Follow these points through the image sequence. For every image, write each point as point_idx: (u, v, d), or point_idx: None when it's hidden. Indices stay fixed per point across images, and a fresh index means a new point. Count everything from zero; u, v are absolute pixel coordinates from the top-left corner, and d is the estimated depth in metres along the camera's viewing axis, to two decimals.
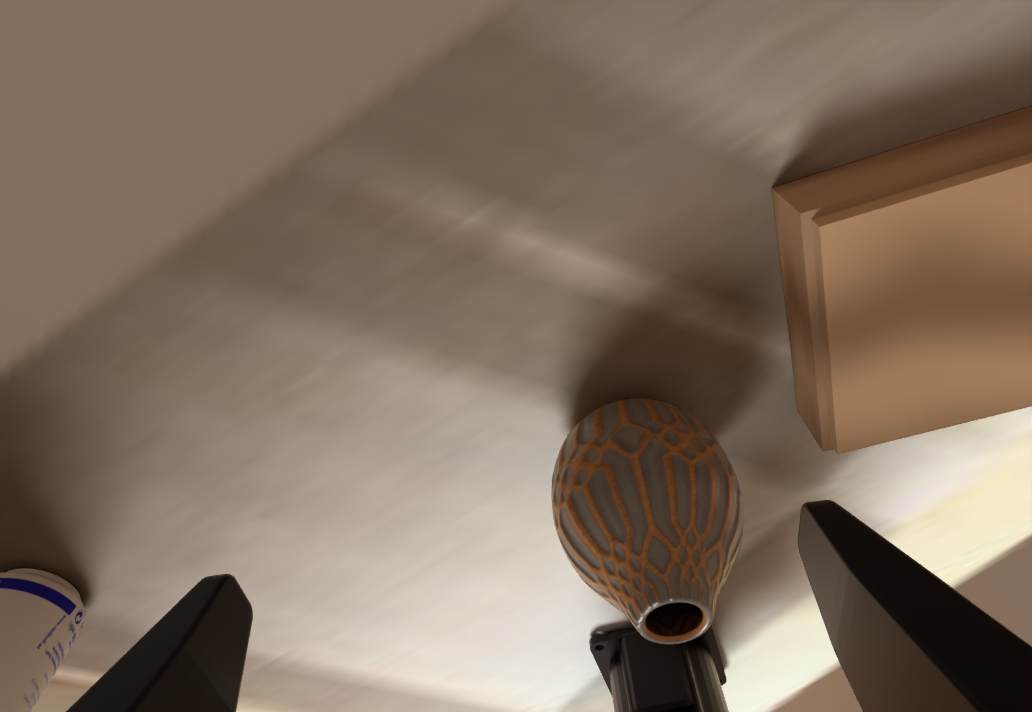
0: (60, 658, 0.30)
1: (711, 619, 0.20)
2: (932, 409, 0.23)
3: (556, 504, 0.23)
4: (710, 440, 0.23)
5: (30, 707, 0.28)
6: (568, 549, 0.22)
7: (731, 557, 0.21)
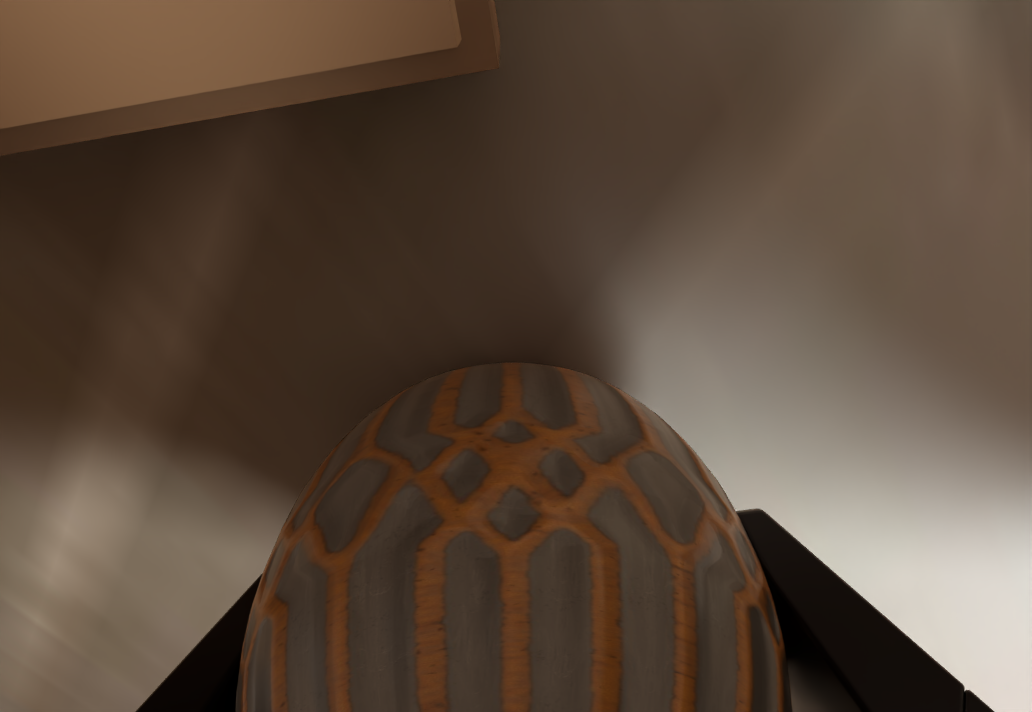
0: None
1: None
2: None
3: None
4: (321, 488, 0.08)
5: None
6: None
7: None
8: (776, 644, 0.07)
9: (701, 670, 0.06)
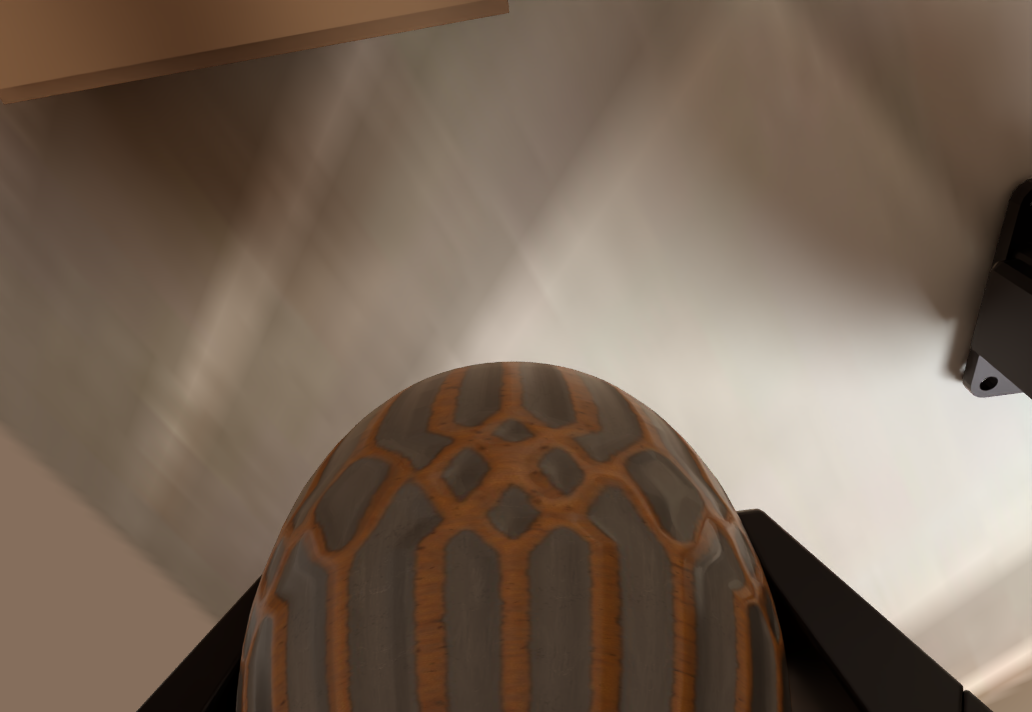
0: None
1: None
2: None
3: None
4: (321, 487, 0.08)
5: None
6: None
7: None
8: (775, 642, 0.07)
9: (701, 666, 0.06)
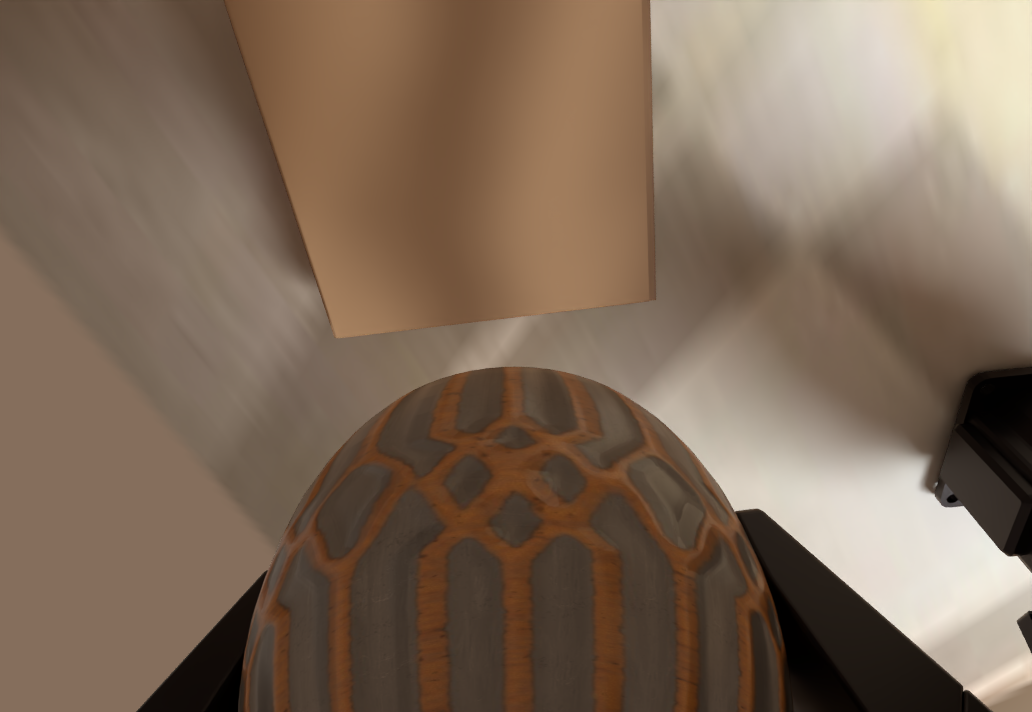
0: None
1: None
2: (607, 194, 0.17)
3: None
4: (323, 494, 0.08)
5: None
6: None
7: None
8: (778, 649, 0.07)
9: (703, 676, 0.06)
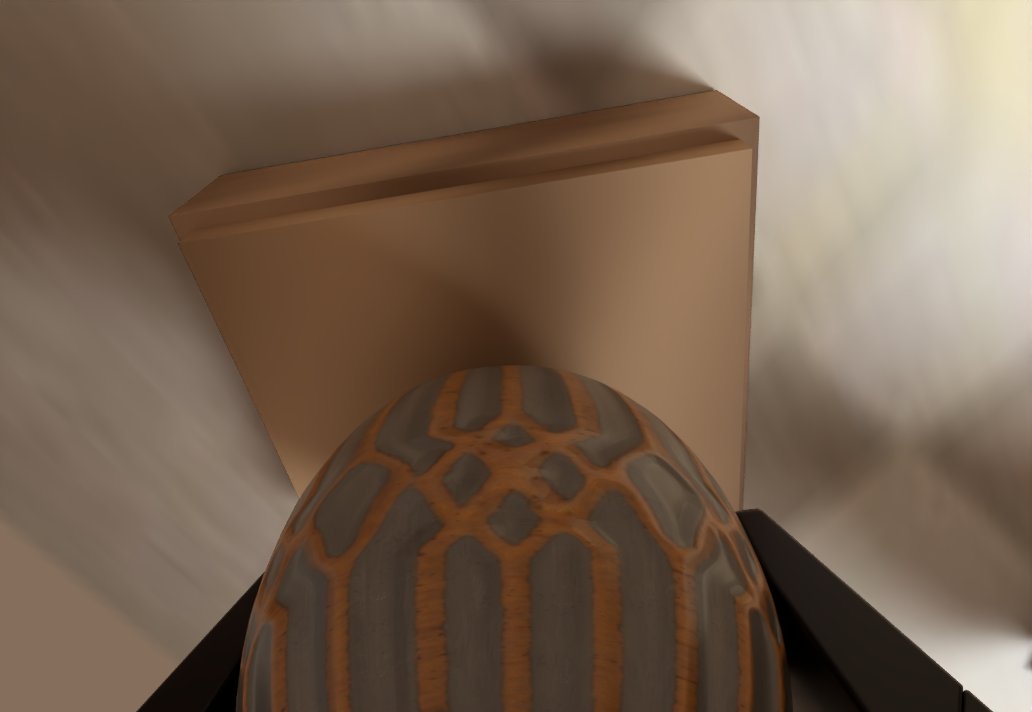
0: None
1: None
2: None
3: None
4: (321, 492, 0.08)
5: None
6: None
7: None
8: (777, 647, 0.07)
9: (703, 674, 0.06)
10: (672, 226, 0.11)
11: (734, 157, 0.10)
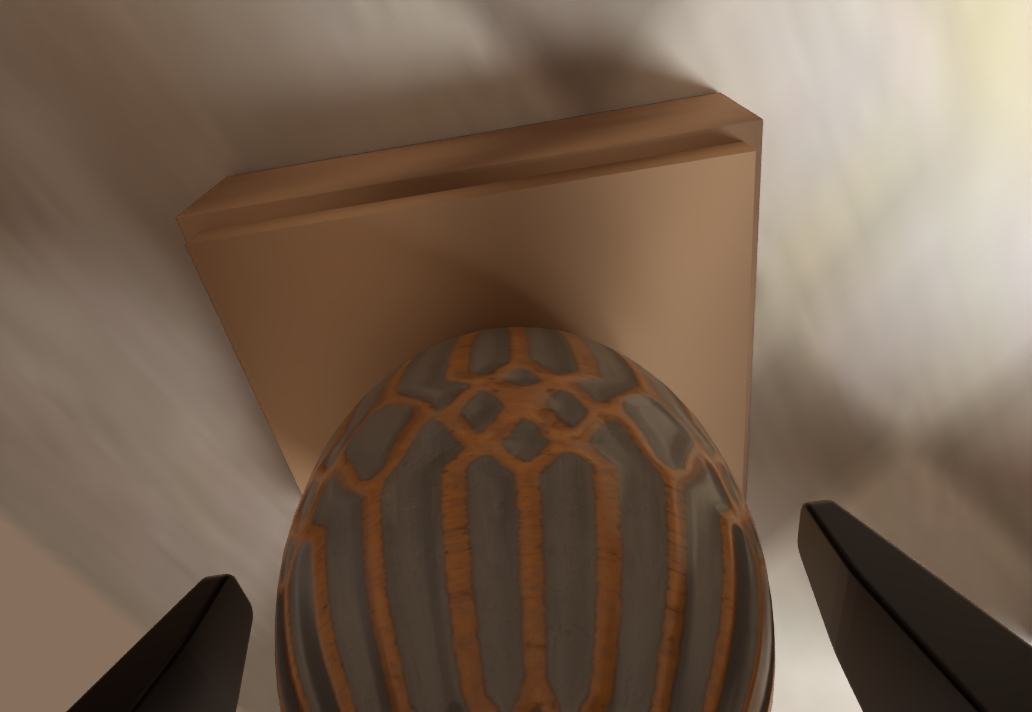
0: None
1: None
2: None
3: None
4: (349, 433, 0.08)
5: None
6: None
7: (512, 689, 0.06)
8: (758, 561, 0.08)
9: (691, 569, 0.07)
10: (676, 228, 0.11)
11: (738, 159, 0.10)
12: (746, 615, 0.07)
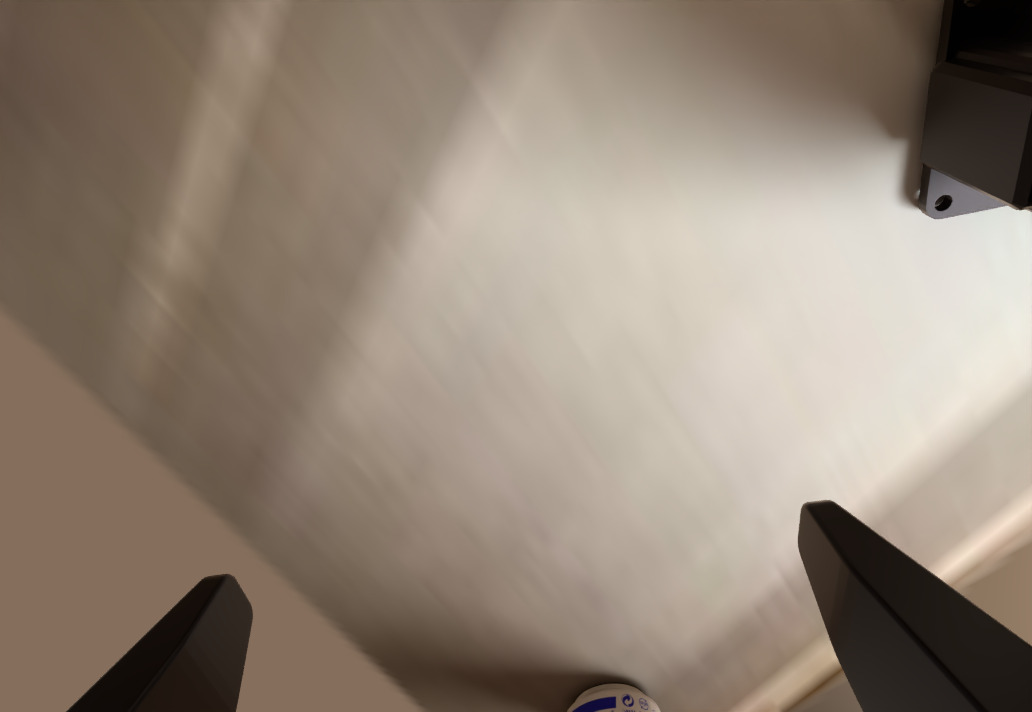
0: None
1: None
2: None
3: None
4: None
5: None
6: None
7: None
8: None
9: None
10: None
11: None
12: None
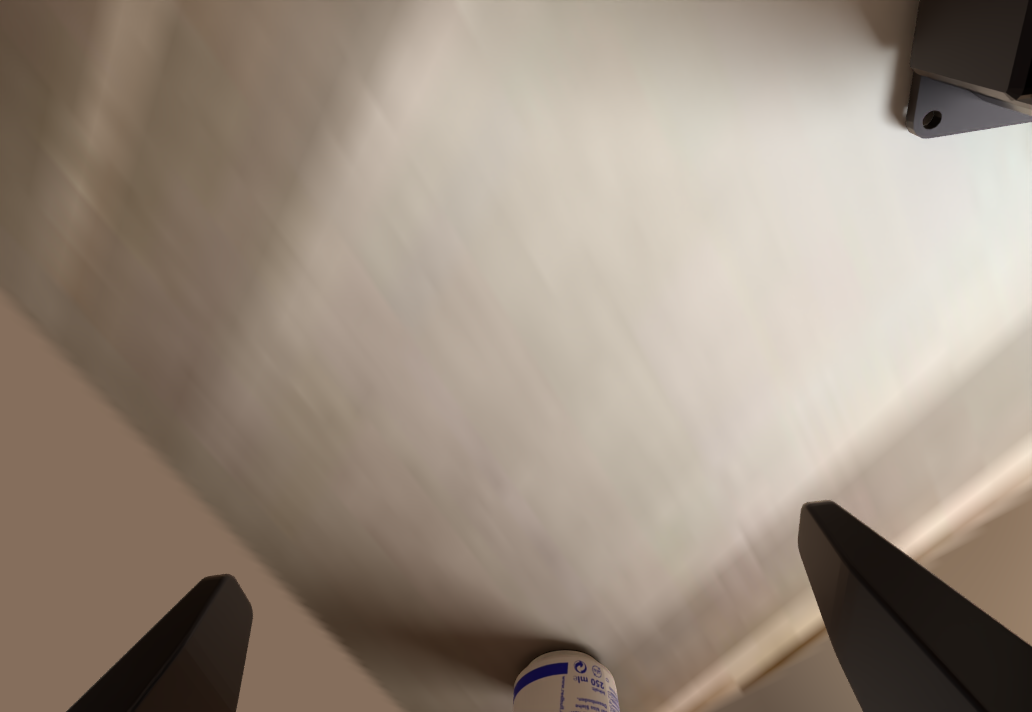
0: (596, 706, 0.29)
1: None
2: None
3: None
4: None
5: None
6: None
7: None
8: None
9: None
10: None
11: None
12: None
